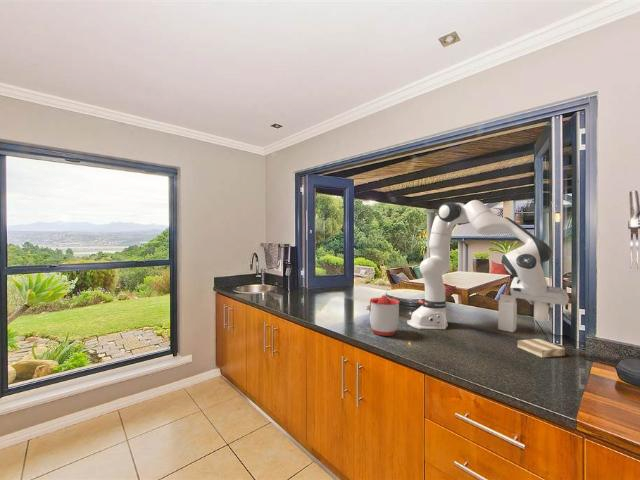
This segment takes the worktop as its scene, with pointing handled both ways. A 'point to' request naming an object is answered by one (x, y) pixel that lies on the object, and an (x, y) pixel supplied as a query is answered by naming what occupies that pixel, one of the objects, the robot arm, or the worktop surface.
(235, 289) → the worktop surface
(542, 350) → the base slab
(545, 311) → the canister
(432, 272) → the robot arm
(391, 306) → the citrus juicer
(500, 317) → the milk carton
